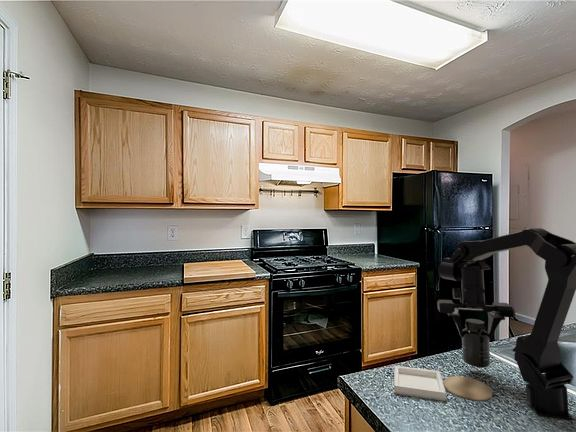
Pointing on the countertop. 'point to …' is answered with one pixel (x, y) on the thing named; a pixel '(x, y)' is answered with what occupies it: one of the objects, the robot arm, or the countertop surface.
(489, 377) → the countertop surface
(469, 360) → the supplement bottle
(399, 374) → the white tray
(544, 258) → the robot arm
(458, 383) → the cork coaster
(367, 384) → the countertop surface
